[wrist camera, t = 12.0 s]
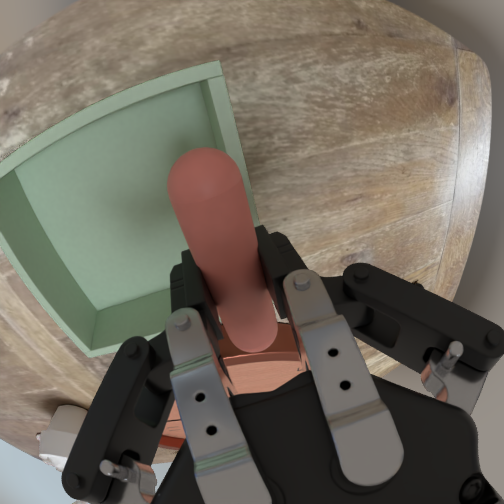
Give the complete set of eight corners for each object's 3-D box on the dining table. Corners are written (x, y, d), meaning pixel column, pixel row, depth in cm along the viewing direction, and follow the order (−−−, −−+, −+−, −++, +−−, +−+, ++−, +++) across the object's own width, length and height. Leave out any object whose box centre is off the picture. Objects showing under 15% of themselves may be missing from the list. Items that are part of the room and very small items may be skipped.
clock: (320, 424, 44) (157, 457, 38) (313, 408, 47) (155, 439, 41) (372, 318, 26) (66, 375, 20) (354, 294, 29) (71, 343, 23)
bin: (7, 161, 13) (-31, 188, 9) (208, 67, 14) (220, 59, 10) (96, 314, 22) (89, 358, 18) (258, 261, 23) (277, 302, 19)
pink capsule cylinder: (158, 154, 9) (153, 174, 7) (225, 132, 10) (240, 146, 8) (230, 331, 16) (240, 367, 14) (272, 317, 16) (287, 351, 14)
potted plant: (123, 416, 34) (144, 562, 14) (90, 429, 35) (102, 551, 15) (52, 384, 26) (54, 555, 6) (29, 402, 28) (28, 537, 8)
